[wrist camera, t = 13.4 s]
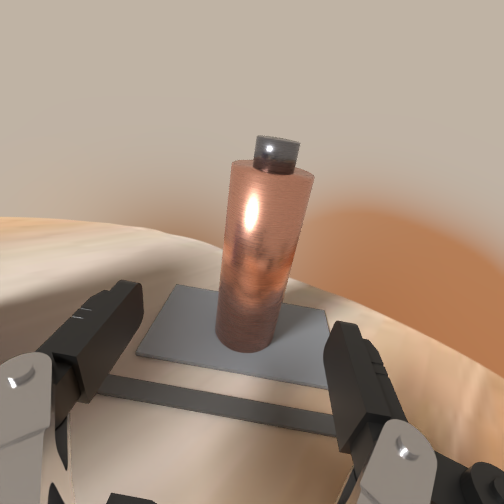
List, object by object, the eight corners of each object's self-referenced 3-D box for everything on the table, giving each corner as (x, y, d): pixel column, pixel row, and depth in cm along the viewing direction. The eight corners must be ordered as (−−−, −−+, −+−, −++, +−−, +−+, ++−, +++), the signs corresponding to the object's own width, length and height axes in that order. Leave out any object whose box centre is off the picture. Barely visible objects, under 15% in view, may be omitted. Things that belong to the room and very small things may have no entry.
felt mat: (136, 355, 22) (135, 351, 22) (176, 286, 31) (176, 284, 31) (340, 392, 22) (342, 389, 22) (323, 312, 31) (324, 310, 31)
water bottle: (208, 346, 24) (227, 135, 15) (221, 304, 29) (241, 130, 20) (272, 358, 24) (329, 152, 15) (274, 313, 29) (316, 142, 20)
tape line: (59, 386, 19) (58, 383, 19) (72, 369, 20) (71, 367, 20) (378, 445, 19) (379, 442, 19) (372, 424, 20) (373, 422, 20)
